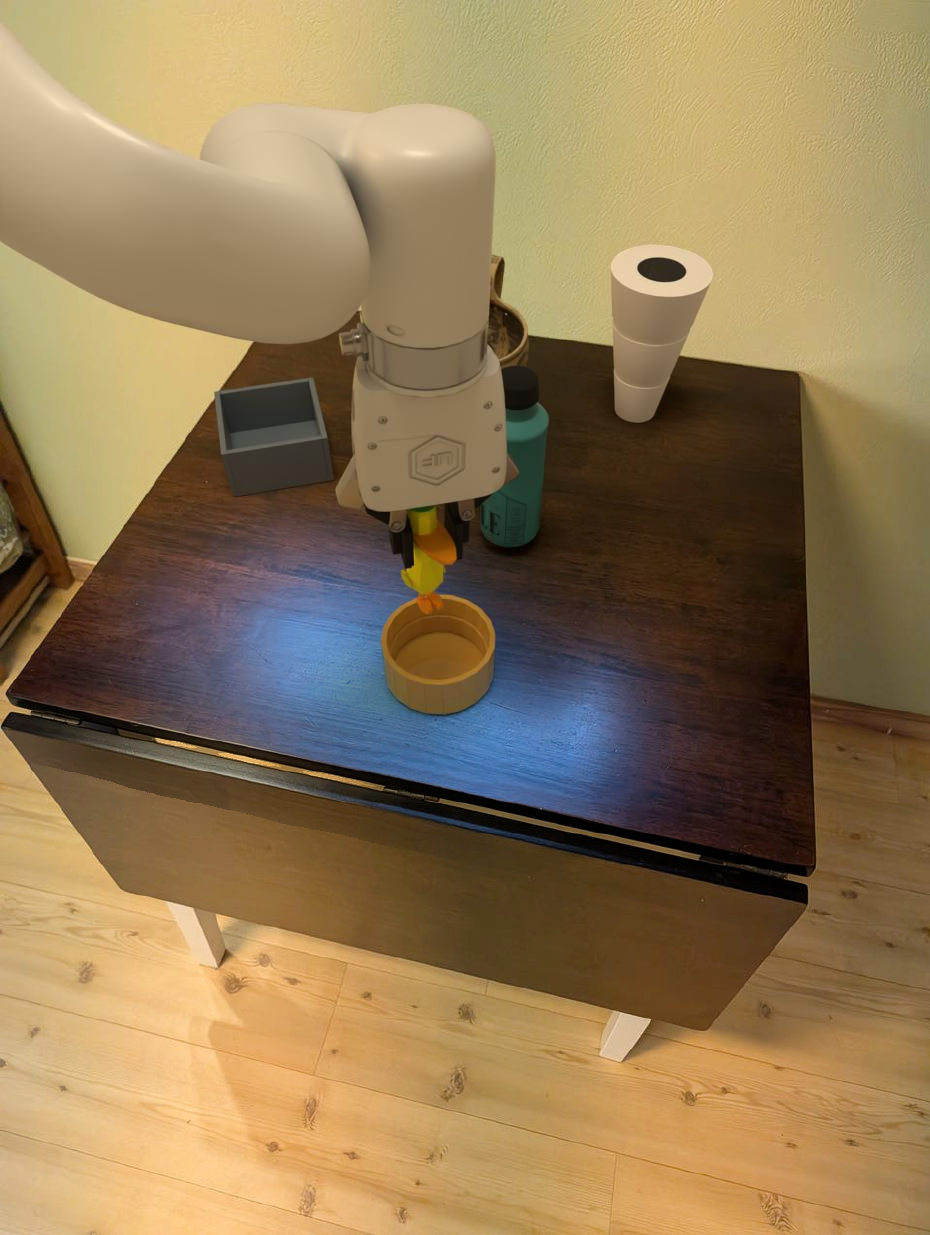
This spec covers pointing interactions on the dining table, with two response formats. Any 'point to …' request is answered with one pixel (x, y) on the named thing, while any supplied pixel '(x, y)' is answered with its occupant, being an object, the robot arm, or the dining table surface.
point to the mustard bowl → (439, 655)
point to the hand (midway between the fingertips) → (429, 549)
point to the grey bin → (273, 436)
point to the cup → (652, 321)
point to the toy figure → (428, 556)
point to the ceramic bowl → (505, 323)
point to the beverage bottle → (519, 464)
